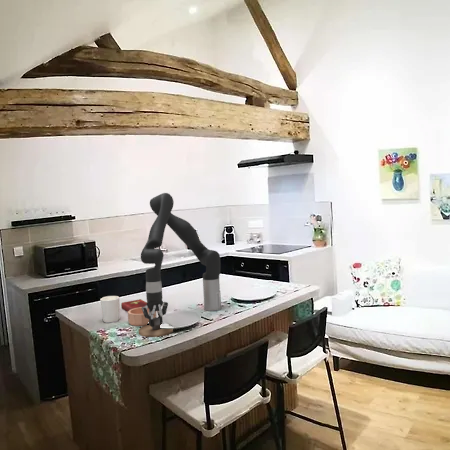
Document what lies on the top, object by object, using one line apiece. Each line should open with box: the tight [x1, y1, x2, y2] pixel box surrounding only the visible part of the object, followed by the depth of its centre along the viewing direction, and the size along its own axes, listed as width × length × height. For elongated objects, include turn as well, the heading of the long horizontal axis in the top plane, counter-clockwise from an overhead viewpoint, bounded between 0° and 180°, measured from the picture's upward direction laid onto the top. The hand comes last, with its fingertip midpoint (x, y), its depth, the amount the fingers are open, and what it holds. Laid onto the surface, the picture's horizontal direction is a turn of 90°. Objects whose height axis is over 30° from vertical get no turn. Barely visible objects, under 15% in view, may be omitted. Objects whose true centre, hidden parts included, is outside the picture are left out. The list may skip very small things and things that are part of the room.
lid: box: [137, 316, 174, 338], centre depth 214 cm, size 17×17×6 cm
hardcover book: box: [120, 299, 147, 313], centre depth 253 cm, size 12×21×4 cm, turn 32°
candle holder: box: [99, 295, 120, 324], centre depth 235 cm, size 10×10×12 cm
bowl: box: [127, 307, 157, 327], centre depth 230 cm, size 14×14×6 cm
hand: (156, 325), depth 214 cm, fingers closed on lid, 4 cm apart
